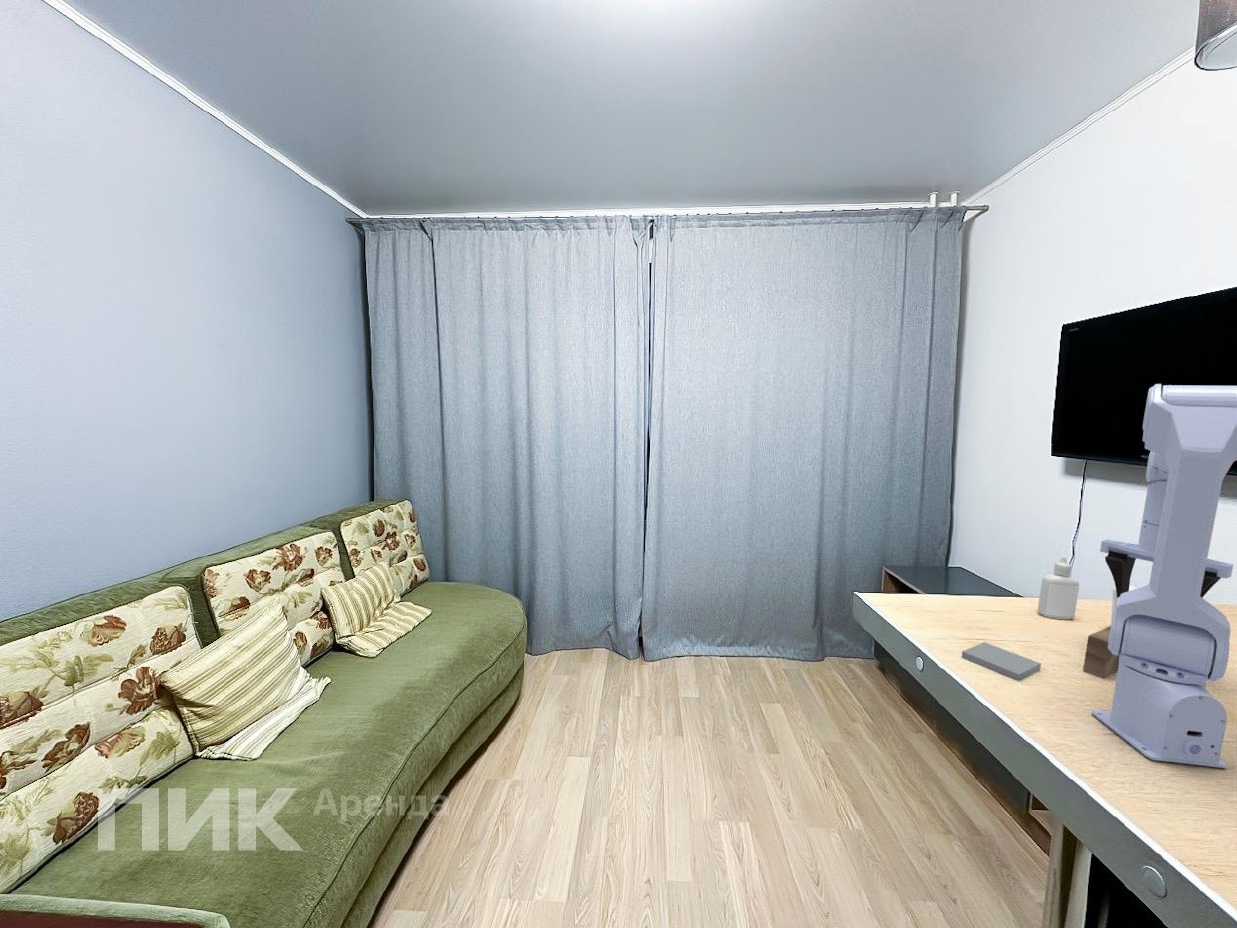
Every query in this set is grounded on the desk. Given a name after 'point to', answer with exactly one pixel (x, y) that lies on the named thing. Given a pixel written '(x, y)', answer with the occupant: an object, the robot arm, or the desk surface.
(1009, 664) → the tile
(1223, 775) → the desk surface
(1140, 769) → the desk surface
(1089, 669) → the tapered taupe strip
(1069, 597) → the eye dropper bottle
